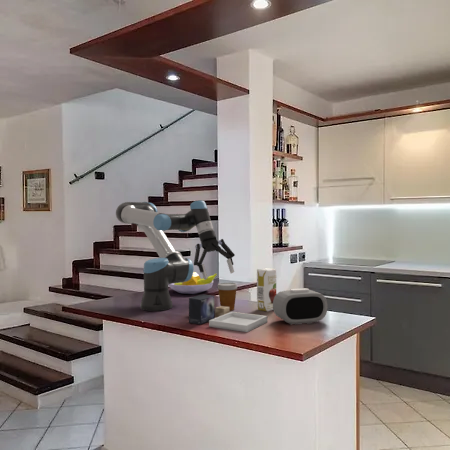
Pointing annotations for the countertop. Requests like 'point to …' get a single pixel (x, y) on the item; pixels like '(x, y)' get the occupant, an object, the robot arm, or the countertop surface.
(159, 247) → the robot arm
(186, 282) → the fruit bowl
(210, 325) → the tray
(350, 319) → the countertop surface
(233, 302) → the disposable coffee cup
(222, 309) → the beech cube
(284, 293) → the alarm clock
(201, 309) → the small box
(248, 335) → the countertop surface
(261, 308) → the juice carton
